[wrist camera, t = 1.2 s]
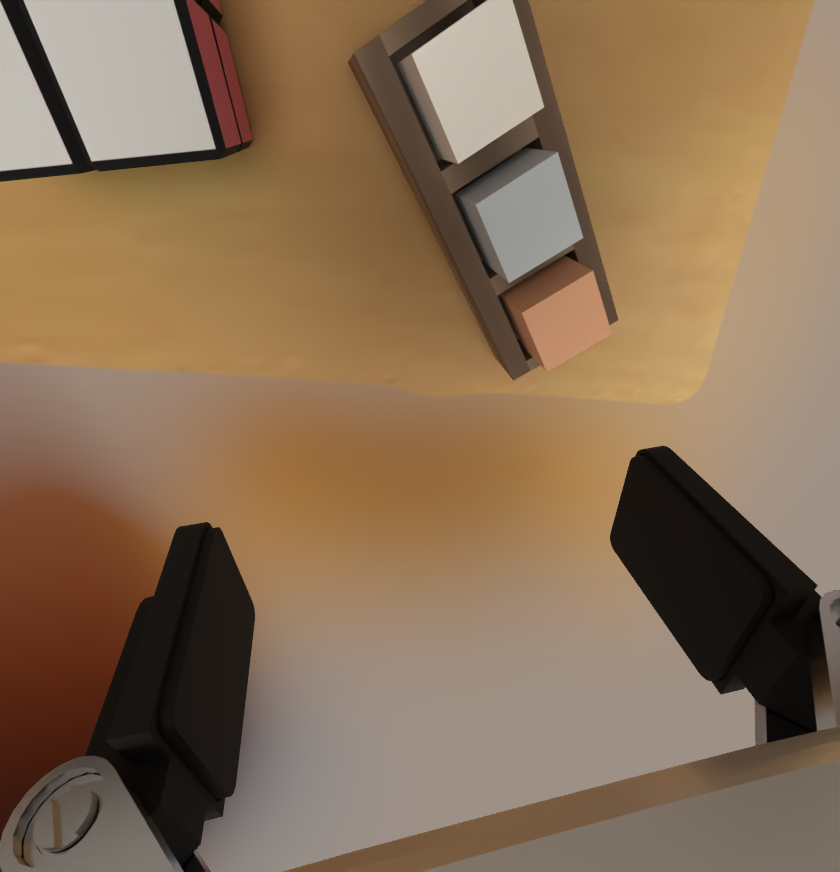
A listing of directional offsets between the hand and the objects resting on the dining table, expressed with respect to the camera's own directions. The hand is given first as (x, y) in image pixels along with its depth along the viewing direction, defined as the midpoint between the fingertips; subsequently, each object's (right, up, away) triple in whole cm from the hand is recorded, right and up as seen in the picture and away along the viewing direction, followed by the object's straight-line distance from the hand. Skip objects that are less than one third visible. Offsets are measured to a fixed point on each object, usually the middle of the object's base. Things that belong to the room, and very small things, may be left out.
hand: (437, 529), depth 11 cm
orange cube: (+8, +11, +20) cm, 24 cm away
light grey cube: (+5, +15, +16) cm, 23 cm away
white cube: (+1, +20, +13) cm, 23 cm away
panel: (+4, +17, +19) cm, 25 cm away
